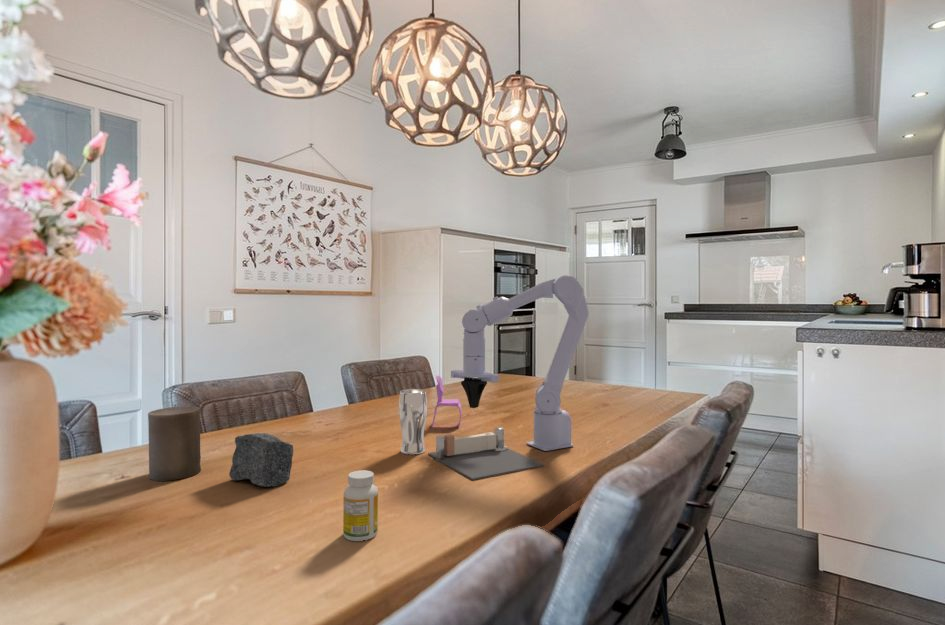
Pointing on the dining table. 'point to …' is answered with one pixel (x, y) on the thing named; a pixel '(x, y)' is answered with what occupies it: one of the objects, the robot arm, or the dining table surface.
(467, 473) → the mat
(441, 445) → the post
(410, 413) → the beer glass
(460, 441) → the gate
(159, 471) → the pillar candle
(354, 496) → the supplement bottle
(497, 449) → the post
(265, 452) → the stone
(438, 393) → the toy chair
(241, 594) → the dining table surface
